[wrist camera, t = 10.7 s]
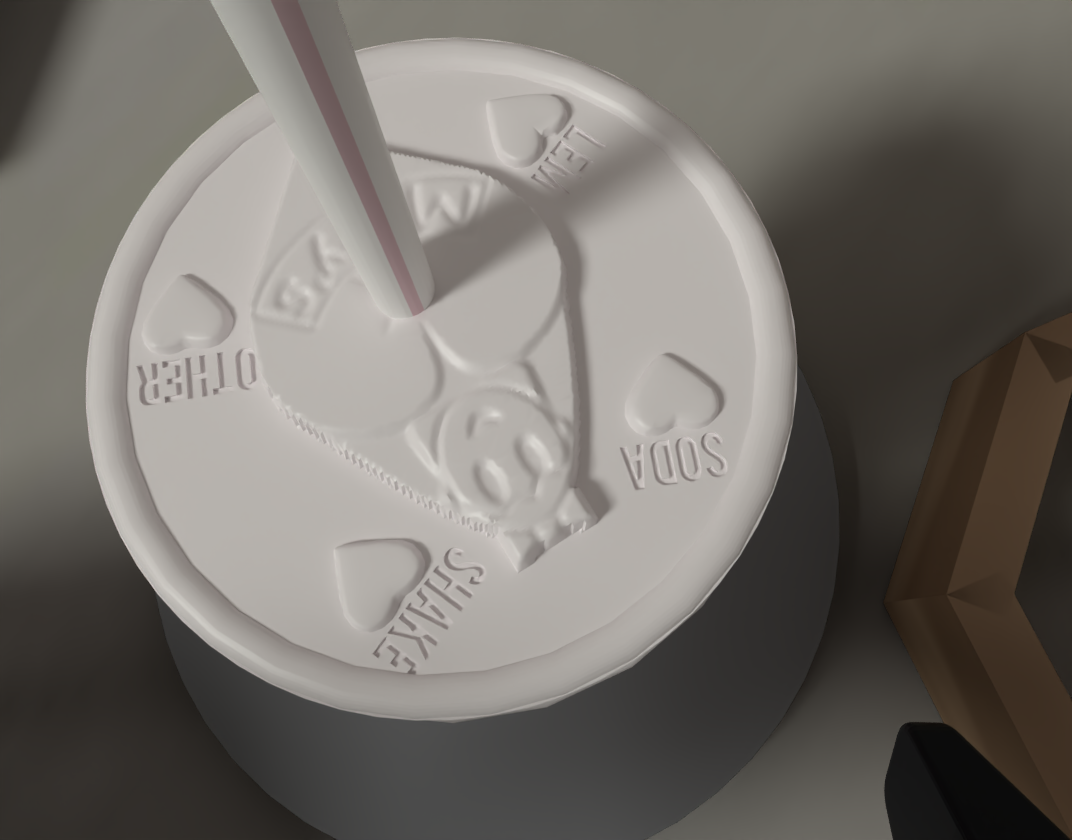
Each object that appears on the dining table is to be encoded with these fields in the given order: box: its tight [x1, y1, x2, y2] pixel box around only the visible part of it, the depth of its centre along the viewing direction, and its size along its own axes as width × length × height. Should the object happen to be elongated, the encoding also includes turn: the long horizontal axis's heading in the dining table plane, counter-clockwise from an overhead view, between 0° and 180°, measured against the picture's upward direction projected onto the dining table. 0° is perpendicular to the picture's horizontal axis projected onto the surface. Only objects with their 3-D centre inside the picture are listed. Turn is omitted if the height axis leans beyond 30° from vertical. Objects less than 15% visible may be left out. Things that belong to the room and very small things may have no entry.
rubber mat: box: [155, 364, 840, 840], centre depth 18 cm, size 13×13×1 cm
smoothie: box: [86, 0, 797, 723], centre depth 11 cm, size 6×6×14 cm
